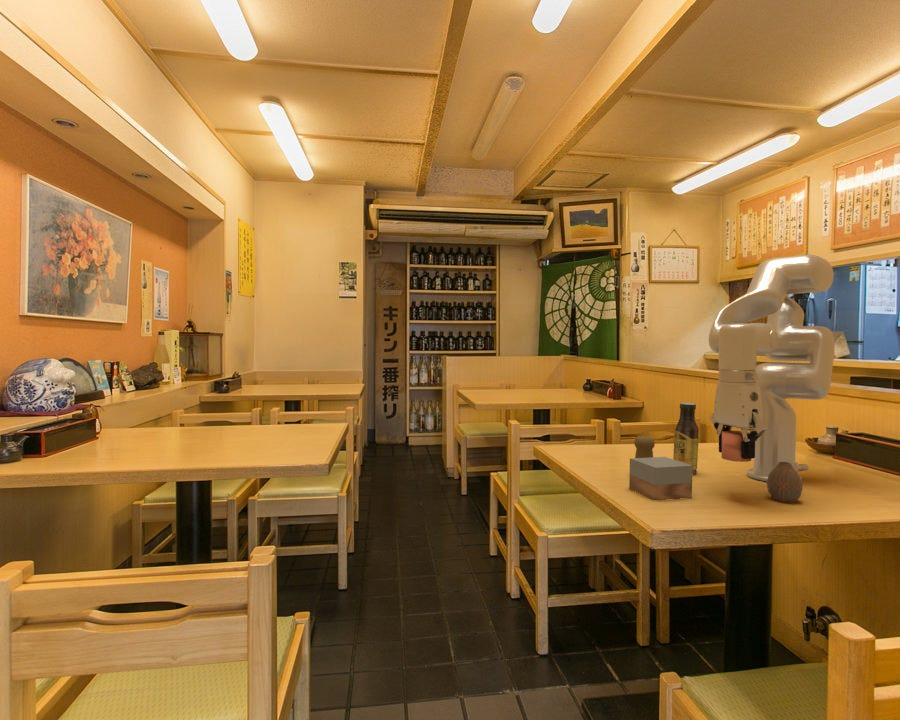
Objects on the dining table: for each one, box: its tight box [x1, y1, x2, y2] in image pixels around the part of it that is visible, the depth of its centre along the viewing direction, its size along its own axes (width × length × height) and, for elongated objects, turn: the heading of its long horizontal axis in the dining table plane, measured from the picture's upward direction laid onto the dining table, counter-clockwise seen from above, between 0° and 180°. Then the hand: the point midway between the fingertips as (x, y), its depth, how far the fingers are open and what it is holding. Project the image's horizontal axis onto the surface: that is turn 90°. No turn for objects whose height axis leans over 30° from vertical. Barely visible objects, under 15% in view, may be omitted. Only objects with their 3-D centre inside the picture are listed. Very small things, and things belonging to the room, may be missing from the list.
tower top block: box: [629, 456, 693, 485], centre depth 121 cm, size 10×10×4 cm
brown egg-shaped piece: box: [766, 462, 804, 503], centre depth 116 cm, size 7×7×9 cm
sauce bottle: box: [672, 402, 700, 476], centre depth 141 cm, size 7×6×20 cm
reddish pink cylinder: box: [721, 430, 752, 463], centre depth 116 cm, size 6×6×6 cm
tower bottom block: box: [628, 474, 693, 501], centre depth 121 cm, size 10×10×4 cm
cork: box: [634, 435, 656, 458], centre depth 137 cm, size 6×6×11 cm
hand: (736, 454), depth 116 cm, fingers closed on reddish pink cylinder, 6 cm apart
